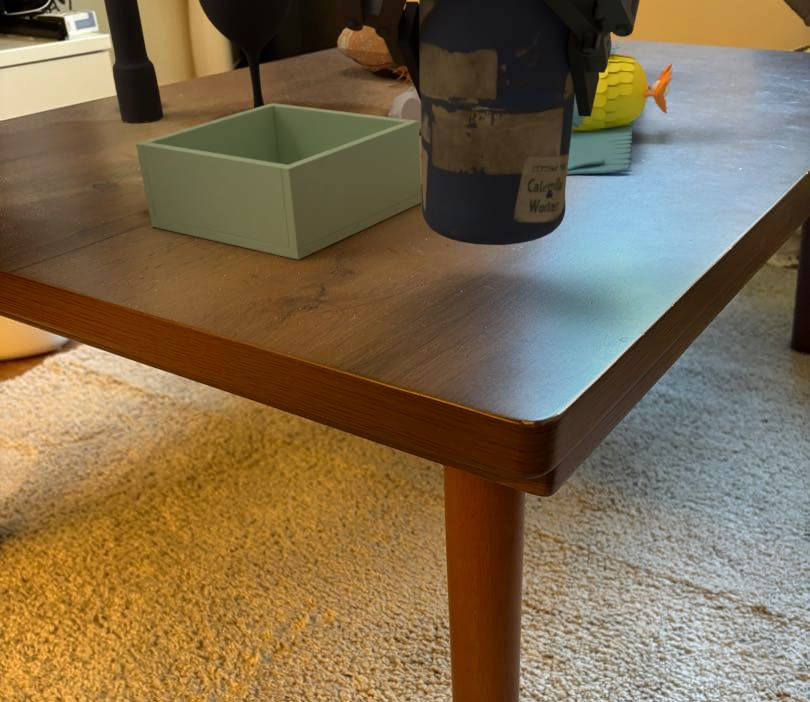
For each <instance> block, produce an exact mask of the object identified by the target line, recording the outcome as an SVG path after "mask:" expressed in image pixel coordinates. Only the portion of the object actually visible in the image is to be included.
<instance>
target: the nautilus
mask: <svg viewBox="0 0 810 702" xmlns="http://www.w3.org/2000/svg"><path fill="white" fill-rule="evenodd" d="M337 48H338V51H339V53H340V54H341V55H343V56H344V57H346V58H348V59H351V60H352V61H353V62H354V63H356V64H358V65H360V66H362V67H363V68H364V69H365V71H367V72H368V73H370V74H372V72H374V73H376V72H379V71H382V70H383V69H388V70H390V71H392V73H393V74H394V73H395V74H396V75H399V77H398V78H397V79H396V80H395V79H394V82H397V81H399V80H400V79H402V78H403V77H405V78H406V79H404V80H403V81H401V82H399V83H397V84H393V85H388V88H393V87H398V86H400V85H403V84H405V83H407V82H408V81H410V82H411V83H410V84H413V82H412V79H411V77H410V74H409V72H408V70H407V67H406V66H397V65H396V64H395V63H394V62H393V60H392V58H391V54H390V53H389V50H388V48H387V46H386V44H385V42H384V39H383V38H381V37H379V36H378V35H377V34H376V32H375V29H374V28H371V27H368V26H364V25H363V29H362V30H361V31H352V30H350V29H348V28H347V27H346V26H345V28H343V30H342V32H341V33H340V34H339V36H338V38H337Z"/></svg>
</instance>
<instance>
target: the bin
mask: <svg viewBox="0 0 810 702" xmlns="http://www.w3.org/2000/svg"><path fill="white" fill-rule="evenodd" d="M135 145H136V151H137V157H138V162H139V168H140V172H141V176H142V177H141V178H142V182H143V187H144V194H145V198H146V204H147V209H148V214H149V217H150V218H149V219H150V224H151V227H152V228H156V229H161V230H165V231H170V232H173V233H178V234H182V235H187V236H191V237H196V238H200V239H204V240H210V241H214V242H219V243H223V244H227V245H231V246H236V247H240V248H245V249H249V250H253V251H257V252H262V253H267V254H272V255H276V256H281V257H284V258H289V259H293V260H302V259H303V258H306V257H307V256H310V255H313V254H314V253H316V252H319V251H321V250H323V249H325V248H327V247H329V246H331V245H333V244H336V243H338V242H340V241H342V240H344V239H346V238H348V237H350V236H353V235H355V234H357V233H359V232H361V231H364V230H366V229H369V228H370V227H372V226H374V225H377V224H379V223H380V222H383V221H385V220H387V219H389V218H391V217H394V216H395V215H398V214H400V213H402V212H405V211H407V210H408V209H411V208H413V207H415V206H418V205H419V204H422V181H421V154H420V153H421V152H420V151H421V149H420V148H421V145H420V133H419V121H415V120H407V119H399V118H390V117H388V116H381V115H374V114H373V115H372V114H365V113H357V112H350V111H349V112H348V111H340V110H331V109H324V108H316V107H308V106H299V105H292V104H283V103H275V102H271V103H268V104H264V106H261V107H257V108H254V107H253V108H251V109H248V110H245V111H241V112H237V113H234V114H230V115H227V116H224V117H221V118H217V119H214V120H210V121H207V122H204V123H199V124H197V125H193V126H189V127H187V128H183V129H180V130H177V131H174V132H170V133H167V134H163V135H159V136H156V137H153V138H149V139H147V140H144V141H139V142H136V143H135Z"/></svg>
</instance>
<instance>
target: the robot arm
mask: <svg viewBox="0 0 810 702" xmlns="http://www.w3.org/2000/svg"><path fill="white" fill-rule="evenodd" d="M544 1H545V3H546V4H547V5H548V6H549V7H550V8H551V9H552V10H553V11H554V12H555V13H556V14H557V15H558V16H559V18H560V19H561V20H562V21H563V22H564V23H565V24H566V25H567V26H568V27H569V28H570V29H571V33H570V37H569V41H568V46H567V49H568V55H569V61H570V67H571V73H572V79H573V85H574V91H575V97H576V103H577V109H578V115H579V116H589V117H591V113H592V108H593V104H594V99H595V94H596V90H597V85H598V81H599V73H604V72H605V70H606V68H607V65H608V60H609V56H610V51H611V47H612V48H613V46H612V45H613V44H612V35H611V34H613V35H615V36H617V37H620V38H625V37H629V36H631V35H632V34H633V32H634V30H635V29H634V28H635V23H636V19H637V15H638V9H639V5H640V1H641V0H544ZM340 8H341V15H342V23H343V25H344V27H345V28H346V27H347V28H348V29H350V30H352V31H361V30H362V29H363V25H364V26H368V27H371V28H374V29H375V32H376V34H377V35H378V36H379V37H381V38H383V39H384V42H385V44H386V46H387V48H388V50H389V53H390V54H391V58H392V60H393V62H394V63H395V64H396V65H397V66H406V67H407V70H408V72H409V74H410V78H411V80H412V84H413V86H414V88H415V89H416V91H417V93H418V96H419V98H420V101H421V94H420V45H419V1H412V0H411V1H408V0H340Z"/></svg>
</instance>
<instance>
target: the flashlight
mask: <svg viewBox="0 0 810 702" xmlns="http://www.w3.org/2000/svg"><path fill="white" fill-rule="evenodd" d="M103 2H104V7H105V12H106V17H107V22H108V28H109V32H110V37H111V43H112V48H113V53H114V54H113V55H114V63H113V65H112V76H113V82H114V87H115V93H116V97H117V102H118V103H117V104H118V107H119V112H120V117H121V121H122V120H123V121H122V122H124V121H127V122H144V123H146V122H145V121H151V122H154V121H153V120H156V121H158V120H157V119H159V120H161V119H163V118H164V110H163V104H162V99H161V94H160V88H159V82H158V78H157V72H156V69H155V65H154V63H153V61H151V60H150V58H149V56H148V52H147V47H146V41H145V37H144V31H143V25H142V18H141V14H140V9H139V2H138V0H103ZM162 117H163V118H162ZM160 118H161V119H160ZM127 122H126V123H127Z"/></svg>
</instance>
